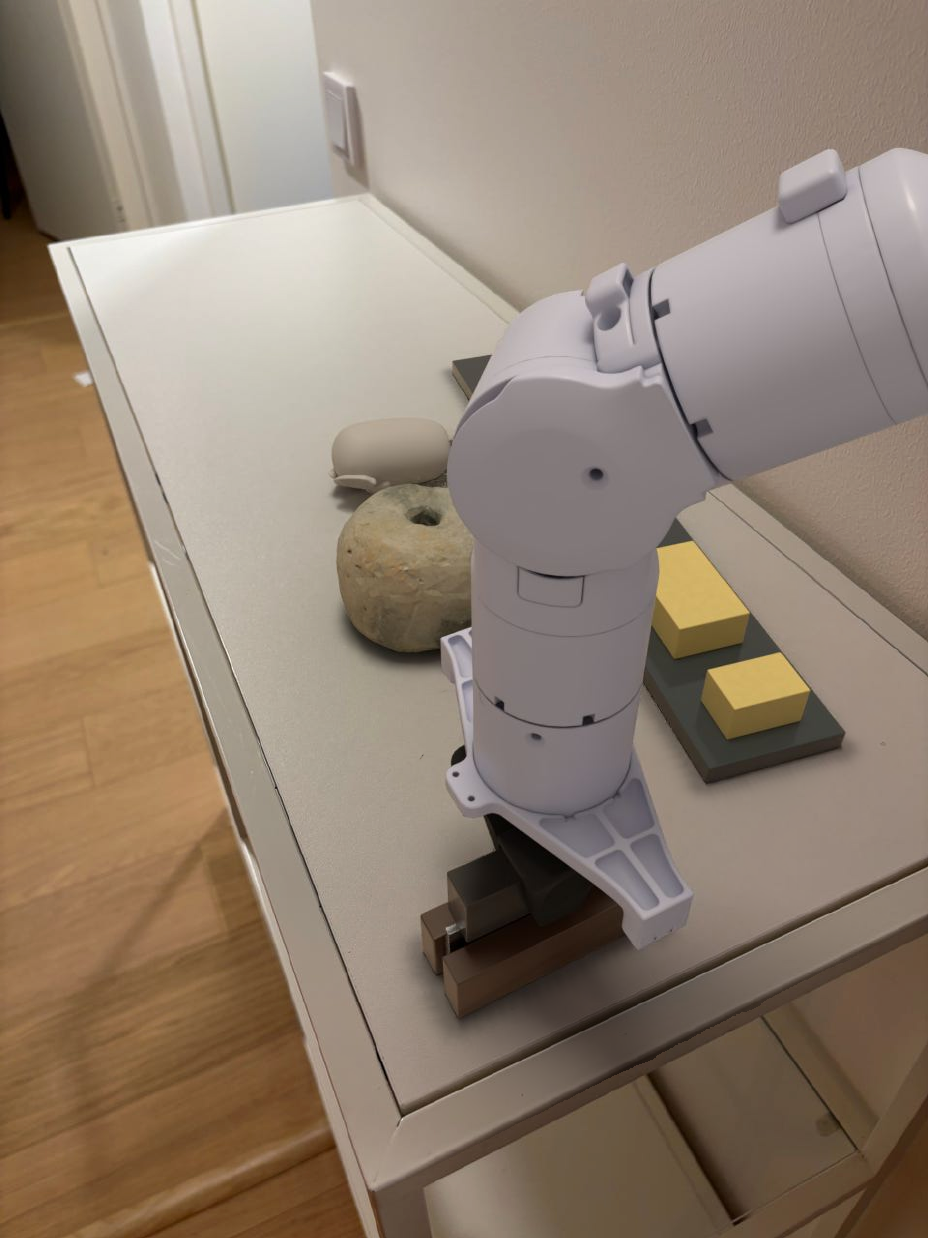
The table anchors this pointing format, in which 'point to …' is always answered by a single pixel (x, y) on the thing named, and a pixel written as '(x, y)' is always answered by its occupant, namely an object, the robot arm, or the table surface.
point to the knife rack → (516, 950)
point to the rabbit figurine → (390, 453)
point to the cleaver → (483, 899)
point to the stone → (406, 568)
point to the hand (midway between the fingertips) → (541, 888)
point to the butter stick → (695, 604)
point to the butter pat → (754, 695)
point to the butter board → (685, 677)
